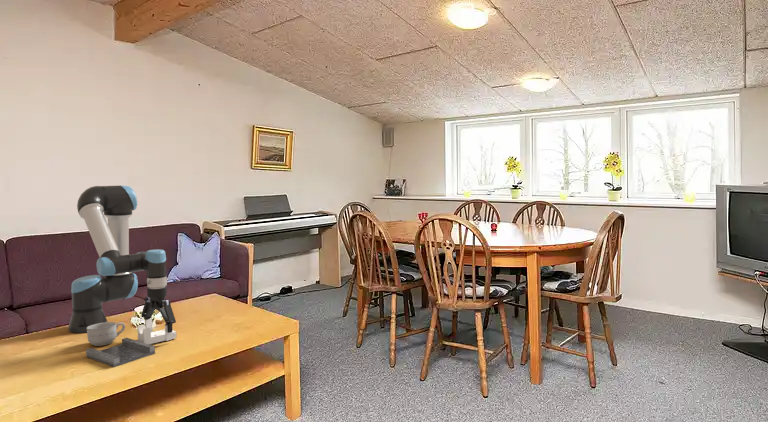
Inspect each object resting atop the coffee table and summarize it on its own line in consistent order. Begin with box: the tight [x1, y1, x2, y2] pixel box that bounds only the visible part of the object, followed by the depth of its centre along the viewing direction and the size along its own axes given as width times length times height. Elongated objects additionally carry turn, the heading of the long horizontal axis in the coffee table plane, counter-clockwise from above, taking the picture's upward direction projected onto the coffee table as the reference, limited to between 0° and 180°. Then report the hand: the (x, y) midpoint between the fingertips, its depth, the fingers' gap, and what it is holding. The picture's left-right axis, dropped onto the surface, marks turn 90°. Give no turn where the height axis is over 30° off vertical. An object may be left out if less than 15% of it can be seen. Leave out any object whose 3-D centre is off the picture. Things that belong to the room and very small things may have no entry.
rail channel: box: [85, 337, 156, 368], centre depth 190 cm, size 19×16×3 cm
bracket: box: [136, 323, 178, 345], centre depth 206 cm, size 13×7×8 cm, turn 136°
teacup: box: [86, 321, 126, 347], centre depth 204 cm, size 14×11×8 cm
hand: (158, 337), depth 207 cm, fingers open, 13 cm apart
